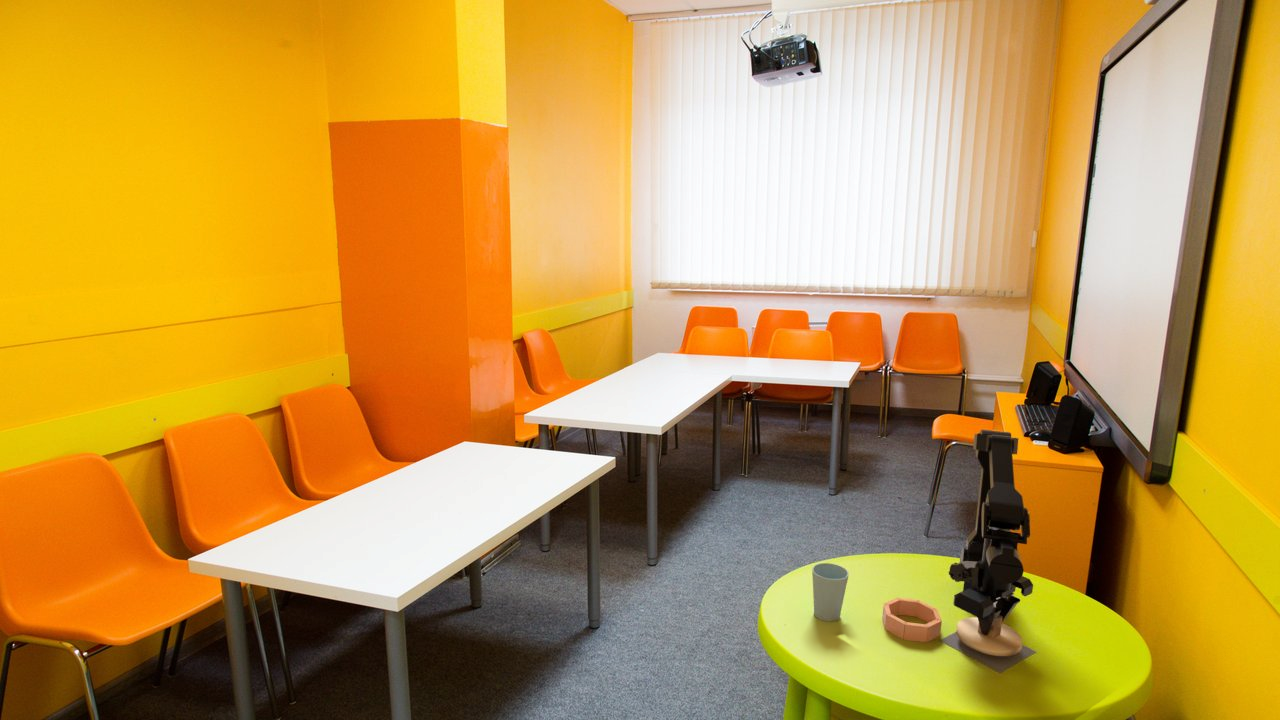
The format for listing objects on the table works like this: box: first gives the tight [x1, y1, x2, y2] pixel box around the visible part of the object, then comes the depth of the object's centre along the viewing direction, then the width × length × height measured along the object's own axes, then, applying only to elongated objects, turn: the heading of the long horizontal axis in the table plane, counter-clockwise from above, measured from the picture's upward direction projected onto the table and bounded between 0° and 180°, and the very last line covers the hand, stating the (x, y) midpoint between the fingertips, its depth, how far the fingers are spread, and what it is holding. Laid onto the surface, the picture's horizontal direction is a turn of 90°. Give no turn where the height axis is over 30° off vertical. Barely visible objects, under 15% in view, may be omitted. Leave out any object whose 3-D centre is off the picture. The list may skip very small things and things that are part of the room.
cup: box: [811, 562, 850, 622], centre depth 162 cm, size 8×8×10 cm
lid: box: [955, 615, 1023, 656], centre depth 149 cm, size 12×12×5 cm
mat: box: [939, 631, 1037, 674], centre depth 150 cm, size 13×13×1 cm
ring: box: [881, 597, 943, 643], centre depth 157 cm, size 11×11×4 cm
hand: (989, 631), depth 149 cm, fingers closed on lid, 3 cm apart
